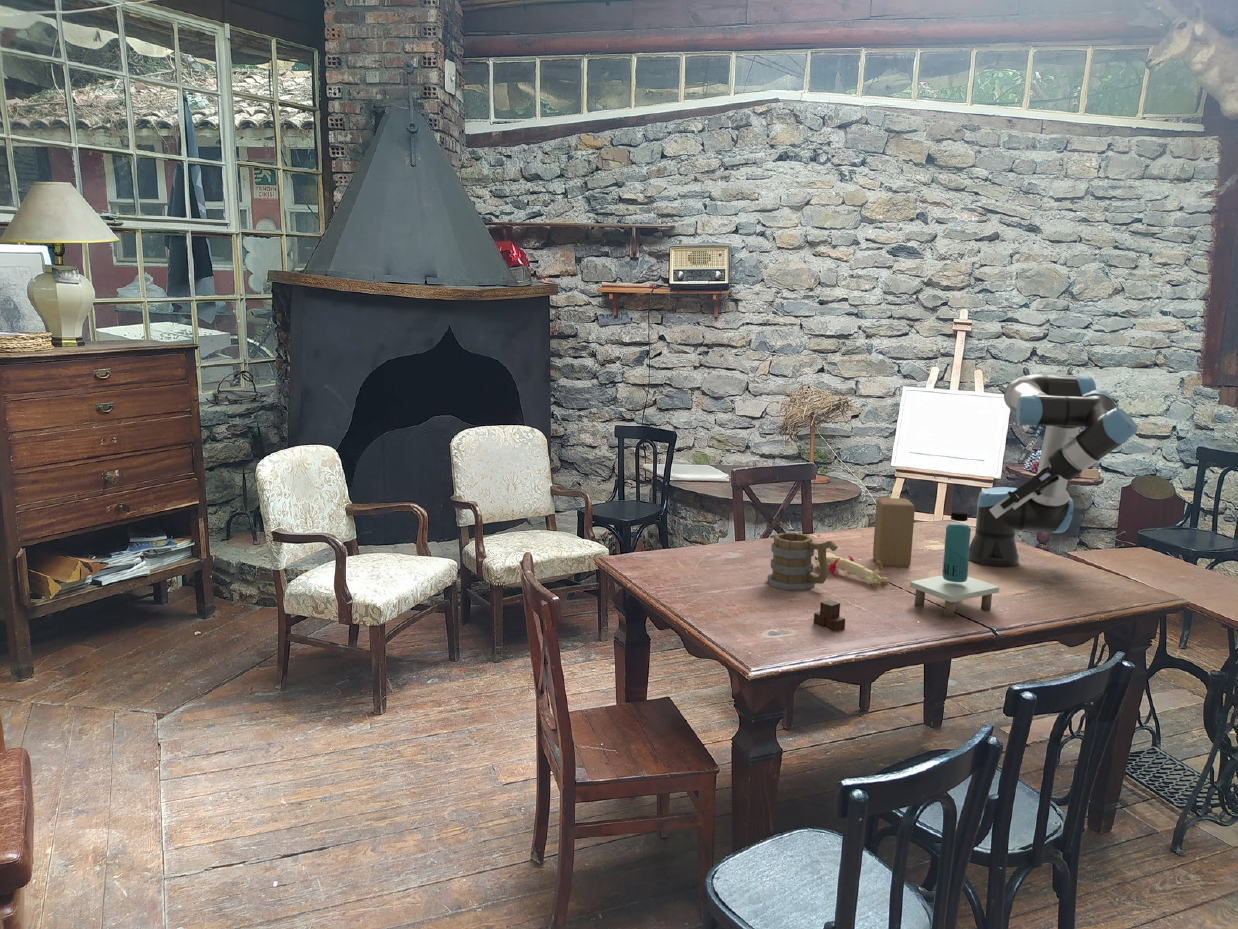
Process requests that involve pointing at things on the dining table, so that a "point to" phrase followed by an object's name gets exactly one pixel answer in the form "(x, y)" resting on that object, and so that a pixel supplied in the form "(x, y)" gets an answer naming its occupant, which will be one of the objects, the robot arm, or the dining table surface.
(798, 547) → the tankard
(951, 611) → the peg shelf
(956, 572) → the beverage bottle
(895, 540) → the wooden block
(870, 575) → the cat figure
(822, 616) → the stack of crates
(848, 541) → the dining table surface
